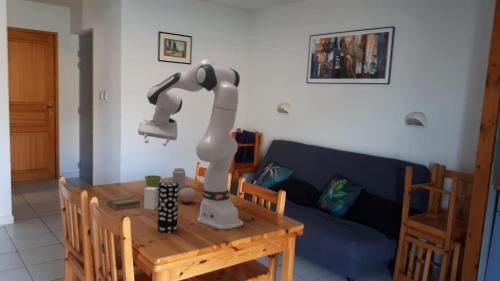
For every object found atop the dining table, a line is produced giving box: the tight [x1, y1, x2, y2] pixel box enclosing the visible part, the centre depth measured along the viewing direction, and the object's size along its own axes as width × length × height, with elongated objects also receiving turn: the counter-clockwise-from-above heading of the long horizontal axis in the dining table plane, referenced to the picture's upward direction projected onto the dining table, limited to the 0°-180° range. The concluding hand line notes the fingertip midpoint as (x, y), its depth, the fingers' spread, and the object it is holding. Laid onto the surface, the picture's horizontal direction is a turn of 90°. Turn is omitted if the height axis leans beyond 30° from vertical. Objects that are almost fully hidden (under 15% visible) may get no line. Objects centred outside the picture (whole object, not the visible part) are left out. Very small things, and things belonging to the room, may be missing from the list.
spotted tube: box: [156, 181, 179, 234], centre depth 172 cm, size 8×8×20 cm
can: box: [171, 167, 186, 190], centre depth 243 cm, size 8×8×12 cm
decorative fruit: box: [178, 184, 197, 204], centre depth 213 cm, size 9×8×10 cm
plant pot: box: [144, 174, 162, 188], centre depth 233 cm, size 9×9×9 cm
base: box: [106, 195, 141, 211], centre depth 203 cm, size 12×12×3 cm
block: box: [143, 186, 158, 211], centre depth 202 cm, size 5×5×10 cm
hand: (155, 143), depth 209 cm, fingers open, 8 cm apart
